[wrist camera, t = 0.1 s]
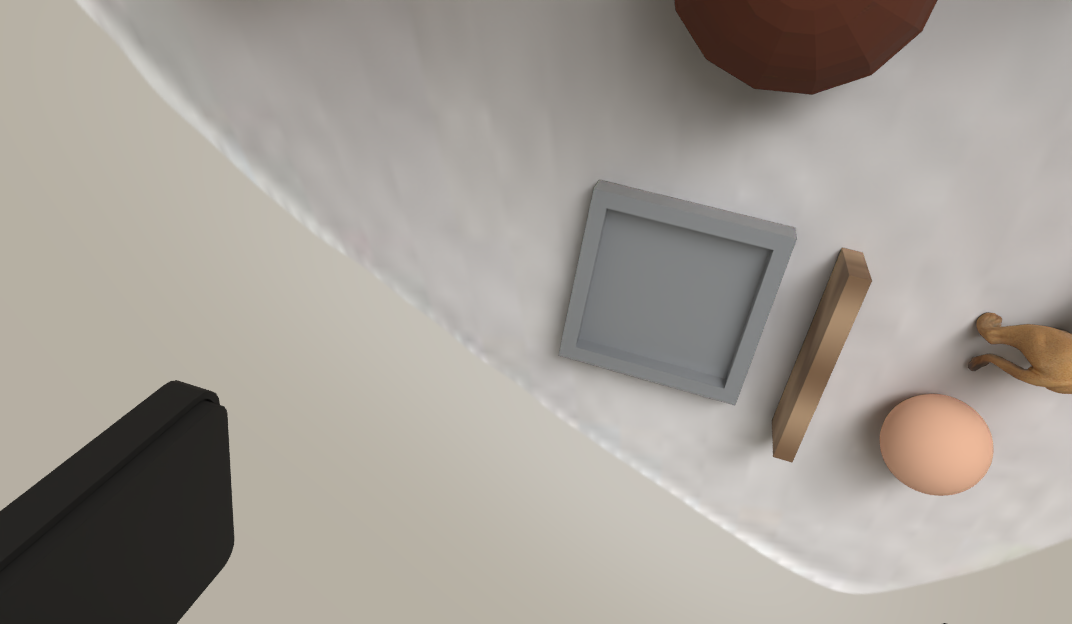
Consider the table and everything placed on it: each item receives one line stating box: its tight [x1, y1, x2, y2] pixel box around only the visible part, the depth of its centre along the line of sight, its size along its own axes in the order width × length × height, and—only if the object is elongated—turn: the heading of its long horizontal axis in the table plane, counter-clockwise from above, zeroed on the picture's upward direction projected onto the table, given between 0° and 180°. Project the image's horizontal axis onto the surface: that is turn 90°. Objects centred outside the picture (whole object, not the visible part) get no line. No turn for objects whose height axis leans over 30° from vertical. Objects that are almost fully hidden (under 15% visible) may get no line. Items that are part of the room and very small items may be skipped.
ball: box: [880, 394, 993, 496], centre depth 44 cm, size 6×6×6 cm
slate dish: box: [559, 180, 797, 405], centre depth 47 cm, size 12×12×2 cm
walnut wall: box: [772, 248, 872, 462], centre depth 45 cm, size 13×1×4 cm, turn 171°
